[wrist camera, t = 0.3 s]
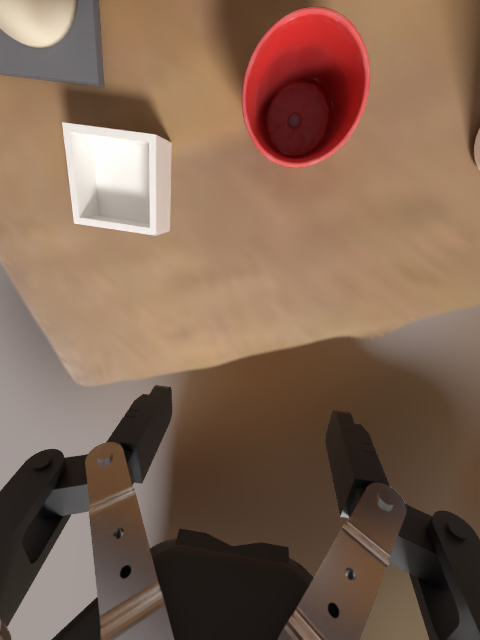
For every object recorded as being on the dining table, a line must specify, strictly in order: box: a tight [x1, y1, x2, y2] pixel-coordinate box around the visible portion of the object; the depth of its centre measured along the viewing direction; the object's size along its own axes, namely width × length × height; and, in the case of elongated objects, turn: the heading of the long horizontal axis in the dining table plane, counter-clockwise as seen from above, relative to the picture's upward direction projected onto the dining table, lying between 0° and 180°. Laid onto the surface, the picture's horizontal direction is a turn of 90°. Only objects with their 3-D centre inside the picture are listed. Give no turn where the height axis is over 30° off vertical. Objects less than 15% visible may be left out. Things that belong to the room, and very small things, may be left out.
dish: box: [62, 122, 172, 235], centre depth 35 cm, size 11×11×5 cm
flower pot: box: [242, 7, 370, 167], centre depth 28 cm, size 11×11×10 cm
